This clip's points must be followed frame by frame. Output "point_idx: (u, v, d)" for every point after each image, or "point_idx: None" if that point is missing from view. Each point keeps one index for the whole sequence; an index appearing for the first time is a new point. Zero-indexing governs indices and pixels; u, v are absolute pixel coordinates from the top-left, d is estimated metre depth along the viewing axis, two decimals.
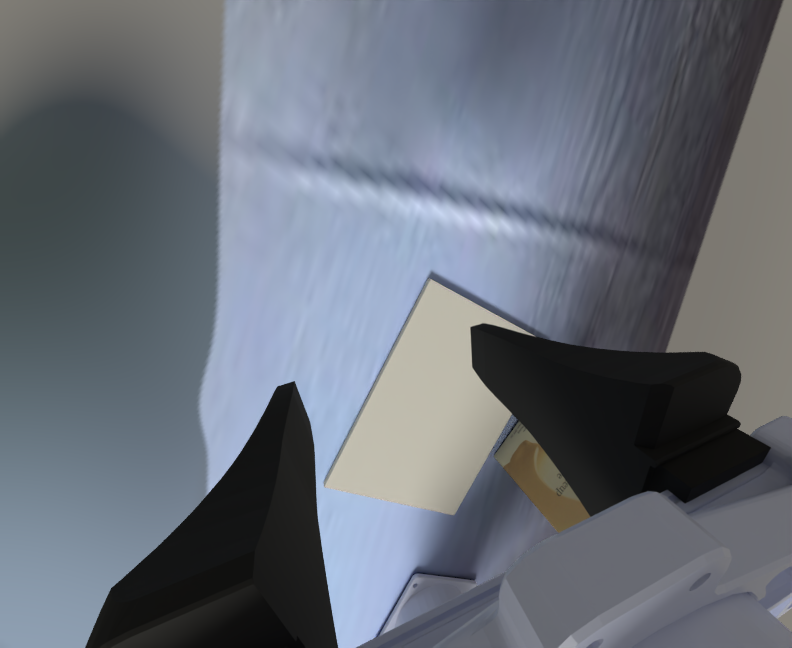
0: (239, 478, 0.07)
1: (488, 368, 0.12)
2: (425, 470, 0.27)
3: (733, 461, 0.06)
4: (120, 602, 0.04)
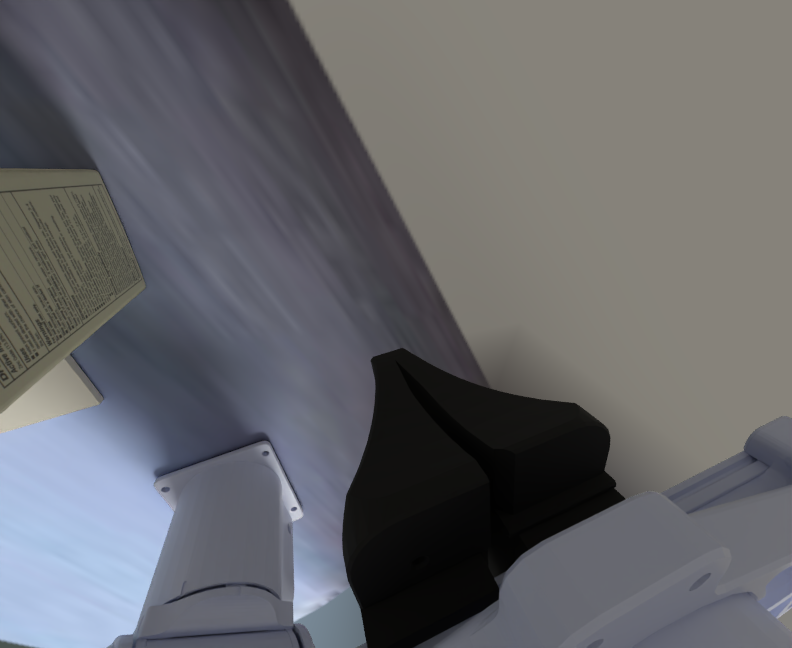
0: (394, 422, 0.07)
1: None
2: None
3: None
4: (375, 498, 0.05)
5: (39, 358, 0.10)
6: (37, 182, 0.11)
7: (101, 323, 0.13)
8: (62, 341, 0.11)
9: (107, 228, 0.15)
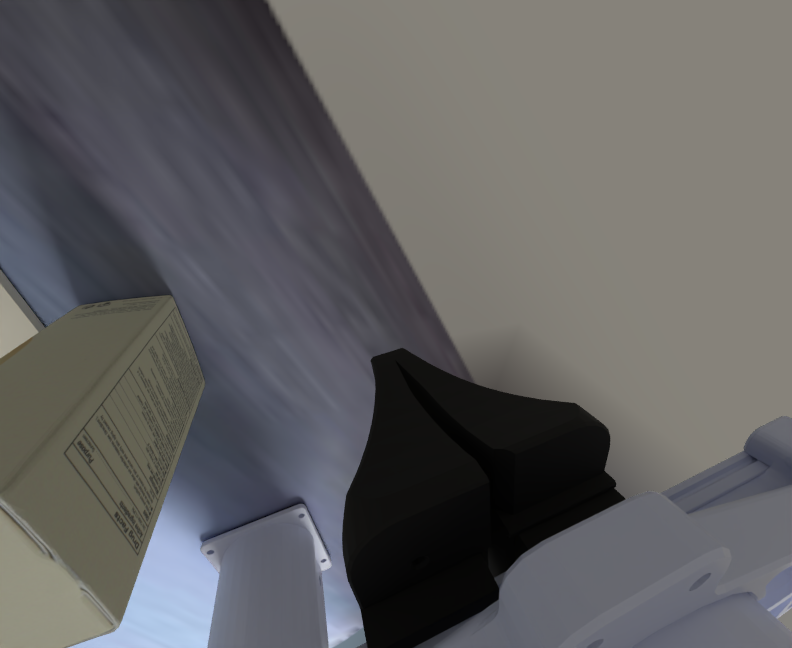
0: (394, 423, 0.07)
1: None
2: None
3: None
4: (374, 498, 0.05)
5: (153, 511, 0.12)
6: (141, 343, 0.13)
7: None
8: (163, 484, 0.13)
9: (181, 348, 0.16)
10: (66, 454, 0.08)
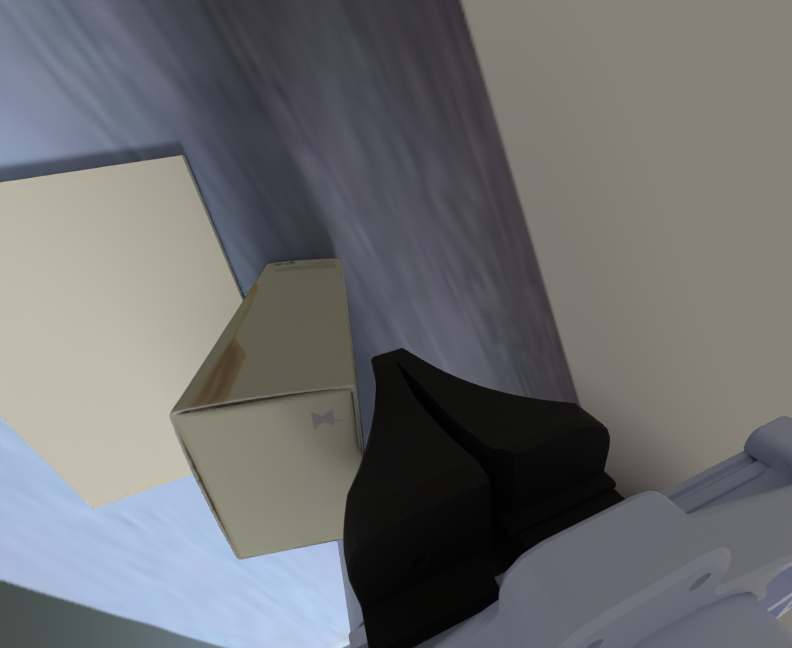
0: (394, 422, 0.07)
1: None
2: None
3: None
4: (375, 497, 0.05)
5: None
6: (345, 293, 0.14)
7: None
8: None
9: None
10: None
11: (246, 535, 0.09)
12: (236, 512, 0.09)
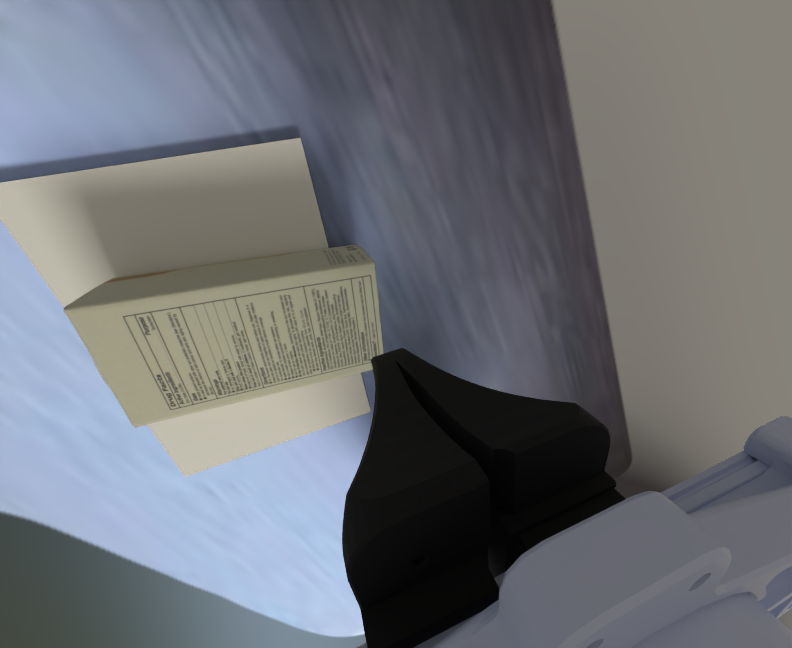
0: (393, 423, 0.07)
1: None
2: (284, 398, 0.21)
3: None
4: (375, 498, 0.05)
5: (206, 400, 0.15)
6: (270, 287, 0.13)
7: (287, 388, 0.16)
8: (233, 394, 0.15)
9: (348, 316, 0.15)
10: (125, 318, 0.12)
11: None
12: None
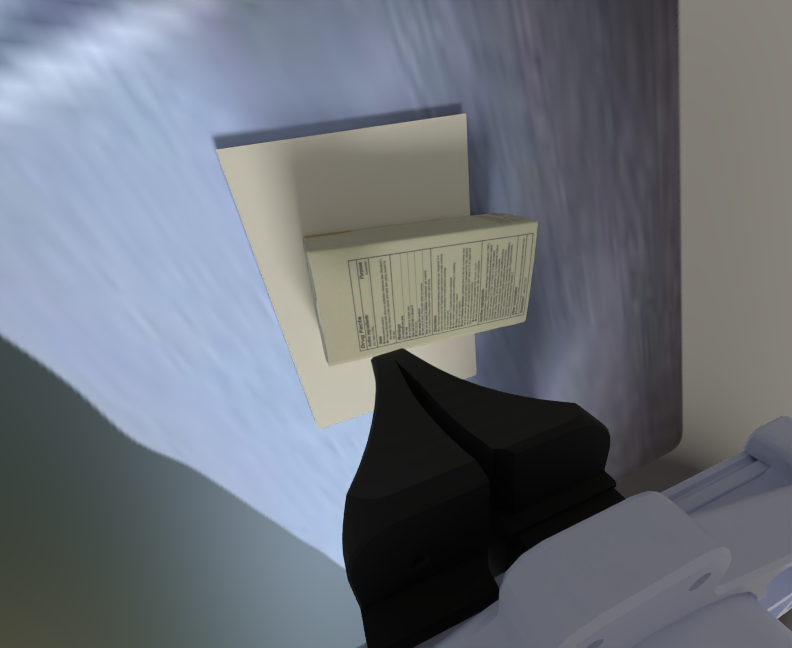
0: (393, 423, 0.07)
1: None
2: None
3: None
4: (375, 498, 0.05)
5: (387, 344, 0.17)
6: (458, 239, 0.15)
7: (449, 337, 0.18)
8: (409, 340, 0.17)
9: (509, 271, 0.17)
10: (349, 262, 0.14)
11: None
12: None
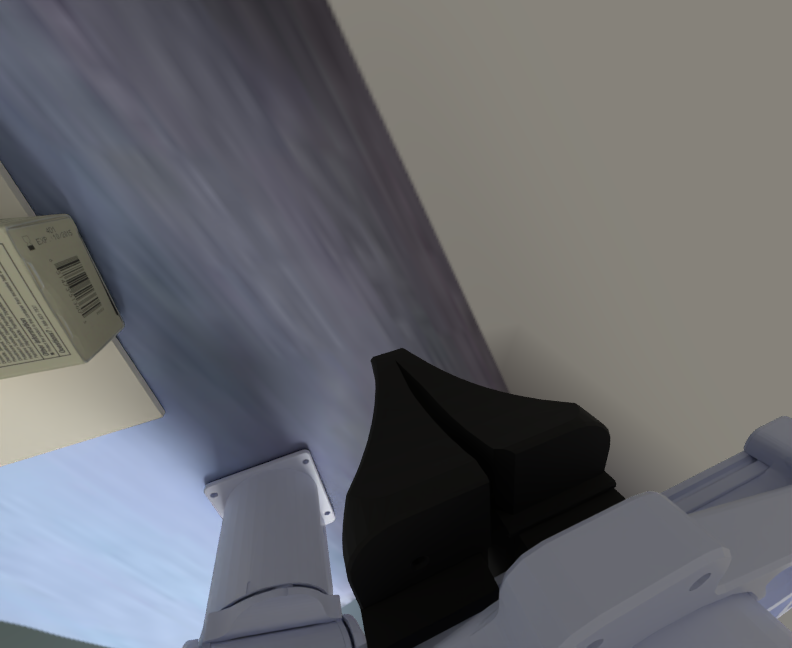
0: (394, 423, 0.07)
1: None
2: (27, 401, 0.17)
3: None
4: (374, 498, 0.05)
5: None
6: None
7: None
8: None
9: None
10: None
11: None
12: None
